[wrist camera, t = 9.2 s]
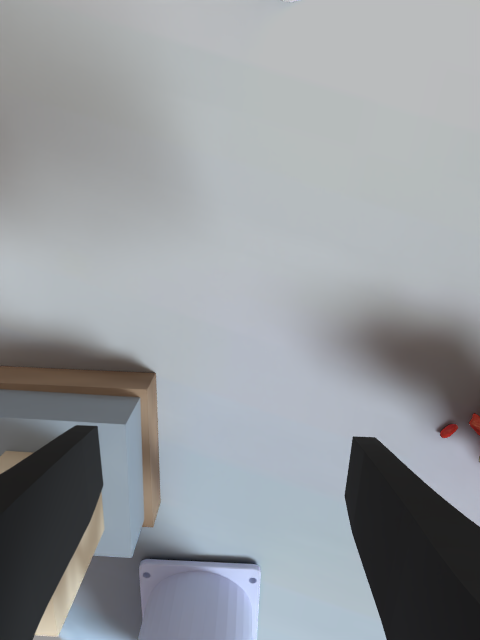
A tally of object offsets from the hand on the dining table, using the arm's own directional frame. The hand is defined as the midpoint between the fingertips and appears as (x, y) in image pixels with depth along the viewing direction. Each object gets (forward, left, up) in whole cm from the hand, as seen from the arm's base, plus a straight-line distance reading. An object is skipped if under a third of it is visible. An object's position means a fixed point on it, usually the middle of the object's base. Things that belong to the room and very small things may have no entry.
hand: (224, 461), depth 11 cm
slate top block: (-7, +9, -8) cm, 14 cm away
